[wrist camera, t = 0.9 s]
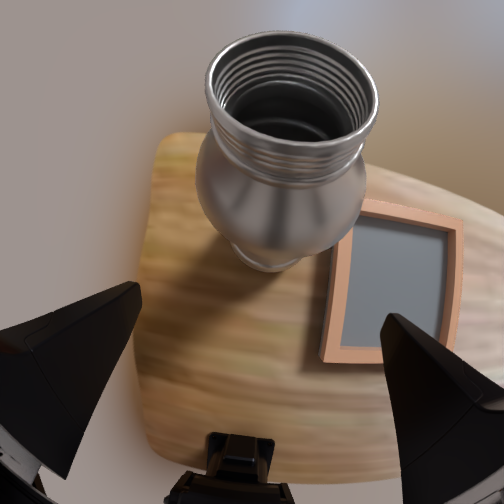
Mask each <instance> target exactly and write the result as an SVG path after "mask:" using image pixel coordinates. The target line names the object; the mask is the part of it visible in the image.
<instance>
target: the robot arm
mask: <svg viewBox="0 0 504 504" xmlns="http://www.w3.org/2000/svg"><path fill="white" fill-rule="evenodd" d="M141 308H142V296H141V289H140V285H139V283H137V282H132V281H127V282H125V283H122V284H120V285H117V286H115V287H112V288H109V289H107V290H105V291H102V292H99V293H97V294H94V295H92V296H90V297H87V298H85V299H82V300H80V301H77V302H75V303H72V304H70V305H67V306H65V307H62V308H60V309H58V310H55V311H54V312H50V313H48V314H45V315H43V316H40V317H38V318H35V319H32V320H30V321H27V322H24V323H21V324H18V325H16V326H12V327H9V328H6V329H3V330H0V504H58V503H56V502H54V501H53V500H51V499H50V498H48V497H47V495H46V493H45V490H44V487H43V485H42V482H41V479H40V476H39V474H38V471H39V469H40V467H41V465H42V466H44V467H45V468H47V469H48V470H50V471H51V472H53V473H55V474H56V475H58V476H59V477H61V478H62V479H64V480H66V478H67V476H68V473H69V471H70V468H71V465H72V462H73V460H74V457H75V454H76V452H77V450H78V447H79V445H80V442H81V440H82V437H83V435H84V432H85V430H86V428H87V425H88V423H89V421H90V419H91V416H92V414H93V412H94V409H95V407H96V405H97V403H98V401H99V399H100V397H101V394H102V392H103V390H104V388H105V386H106V384H107V382H108V380H109V378H110V376H111V374H112V371H113V370H114V368H115V366H116V364H117V362H118V360H119V358H120V356H121V354H122V352H123V350H124V348H125V346H126V344H127V342H128V340H129V338H130V335H131V333H132V330H133V328H134V325H135V323H136V320H137V318H138V315H139V313H140V310H141ZM380 342H381V349H382V357H383V365H384V371H385V376H386V381H387V386H388V390H389V395H390V400H391V406H392V411H393V417H394V423H395V429H396V436H397V442H398V450H399V458H400V467H401V470H402V471H401V480H402V494H403V504H504V389H503V388H502V387H500V386H499V385H497V384H496V383H494V382H493V381H491V380H490V379H488V378H487V377H486V376H484V375H483V374H481V373H480V372H478V371H477V370H476V369H474V368H473V367H472V366H470V365H469V364H468V363H466V362H465V361H462V359H461V358H460V357H458V356H457V355H456V354H454V353H453V352H452V351H450V350H449V349H448V348H446V347H445V346H444V345H442V344H441V343H440V342H438V341H437V340H435V339H434V338H433V337H431V336H430V335H429V334H427V333H426V332H424V331H423V330H422V329H420V328H419V327H418V326H416V325H415V324H413V323H412V322H411V321H409V320H408V319H406V318H405V317H404V316H402V315H401V314H399V313H389V314H388V315H387V316H386V319H385V321H384V323H383V326H382V328H381V330H380ZM213 436H216V438H214V437H213ZM268 443H272V444H270V445H269V444H268ZM274 447H275V441H274V440H272V439H264V438H256V437H250V436H242V435H234V434H224V433H218V432H212V433H211V434H210V436H209V447H208V459H207V472H206V475H202V474H197V473H193V472H192V471H186V472H185V474H184V475H182V476H181V478H180V479H179V480H178V482H177V483H176V484H175V485H174V487H173V488H172V489H171V491H170V495H168V496H166V497H165V498H164V504H295V502H294V499H293V497H292V494H291V492H290V489H289V487H288V484H287V483H281V484H274V483H267V477H268V473H269V469H270V464H271V460H272V456H273V451H274Z"/></svg>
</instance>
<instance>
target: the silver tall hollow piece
mask: <svg viewBox="0 0 504 504" xmlns="http://www.w3.org/2000/svg"><path fill="white" fill-rule="evenodd" d="M205 94H206V98H207V103H208V106H209V109H210V123H211V127H212V128H211V129H210V130H209V132H208V133H207V135H206V137H205V138H204V140H203V142H202V144H201V147H200V151H199V154H198V158H197V164H196V177H195V185H196V190H197V195H198V199H199V202H200V204H201V206H202V209H203V211H204V213H205V215H206V216H207V218H208V219H209V221H210V222H211V223H212V225H213V226H214V228H216V229H217V230H218V231H219V232H220V233H221V234H222V235H223V236H224V237H225V238H226V239H227V240H229V241H230V244H231V246H232V248H233V251H234V252H235V254H236V255H237V256H238V258H239V259H240V260H241V261H242V262H244V263H245V264H246V265H248V266H249V267H251V268H253V269H256V270H258V271H263V272H280V271H284V270H287V269H289V268H291V267H293V266H294V265H296V264H297V263H298V262H299V261H300V260H301V259H302V258H303V257H307V256H312V255H315V254H317V253H320V252H322V251H324V250H327V249H329V248H330V247H332V246H333V245H334V244H336V243H337V242H339V241H340V240H341V239H343V237H344V236H345V235H346V234H347V233H348V232H349V231H350V229H351V228H352V227H353V225H354V224H355V222H356V220H357V218H358V216H359V214H360V211H361V207H362V204H363V200H364V196H365V192H366V170H365V164H364V160H363V158H362V155H361V152H362V150H363V148H364V144H365V140H366V137H367V135H368V134H369V132H370V131H371V129H372V127H373V125H374V123H375V122H376V117H377V115H378V109H379V94H378V90H377V87H376V84H375V82H374V80H373V78H372V76H371V75H370V73H369V72H368V71H367V69H366V68H365V67H364V66H363V65H362V63H361V62H360V61H358V59H357V58H355V57H354V56H353V55H352V54H350V53H349V52H348V51H346V50H345V49H343V48H341V47H340V46H338V45H336V44H335V43H332V42H330V41H328V40H325V39H323V38H320V37H317V36H314V35H310V34H307V33H301V32H294V31H267V32H260V33H255V34H251V35H248V36H245V37H243V38H240V39H238V40H236V41H234V42H232V43H230V44H229V45H227V46H225V47H224V48H223V49H222V50H221V51H220V52H218V53H217V54H216V56H215V57H214V58H213V60H212V61H211V62H210V64H209V67H208V69H207V72H206V77H205Z"/></svg>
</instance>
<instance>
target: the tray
mask: <svg viewBox="0 0 504 504" xmlns="http://www.w3.org/2000/svg"><path fill="white" fill-rule="evenodd" d="M463 249H464V245H463V220H460V219H456V218H453V217H449V216H445V215H441V214H437V213H433V212H429V211H424V210H420V209H416V208H411V207H407V206H402V205H398V204H393V203H388V202H383V201H378V200H373V199H367V198H364V200H363V204H362V207H361V211H360V214H359V216H358V218H357V220H356V222H355V224H354V225H353V227H352V228H351V229H350V231H349V232H348V233H347V234H346V235H345V236H344V237H343V239H341V240H340V241H339V242H337V243H336V244H334V245H333V246H332V251H331V262H330V272H329V281H328V290H327V298H326V306H325V314H324V321H323V328H322V334H321V341H320V347H319V353H318V356H319V357H320V358H321V360H322V361H323V362H328V363H383V357H382V349H381V342H380V330H381V328H382V326H383V323H384V321H385V319H386V316H387V315H388V314H389V313H399V314H401V315H402V316H404V317H405V318H406V319H408V320H409V321H411V322H412V323H413V324H415V325H416V326H418V327H419V328H420V329H422V330H423V331H424V332H426V333H427V334H429V335H430V336H431V337H433V338H434V339H435V340H437V341H438V342H440V343H441V344H442V345H444V346H445V347H446V348H448V349H449V350H450V351H452V352H453V349H454V344H455V338H456V332H457V326H458V319H459V312H460V303H461V293H462V280H463Z"/></svg>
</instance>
